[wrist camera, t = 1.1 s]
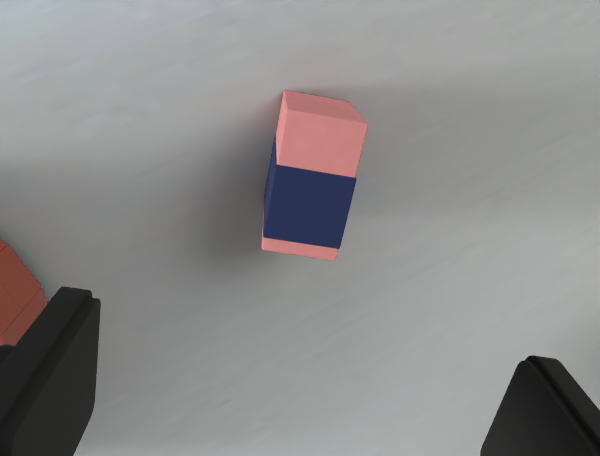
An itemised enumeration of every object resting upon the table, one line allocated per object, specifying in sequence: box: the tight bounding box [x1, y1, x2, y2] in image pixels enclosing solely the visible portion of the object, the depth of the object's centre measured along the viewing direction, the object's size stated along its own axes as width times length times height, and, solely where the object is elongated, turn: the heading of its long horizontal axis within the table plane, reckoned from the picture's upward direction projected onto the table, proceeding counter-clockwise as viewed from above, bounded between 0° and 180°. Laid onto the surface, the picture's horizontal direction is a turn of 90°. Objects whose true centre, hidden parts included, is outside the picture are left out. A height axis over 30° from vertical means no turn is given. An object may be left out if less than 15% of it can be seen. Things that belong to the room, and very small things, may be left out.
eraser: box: [262, 90, 368, 261], centre depth 23 cm, size 6×3×5 cm, turn 169°
